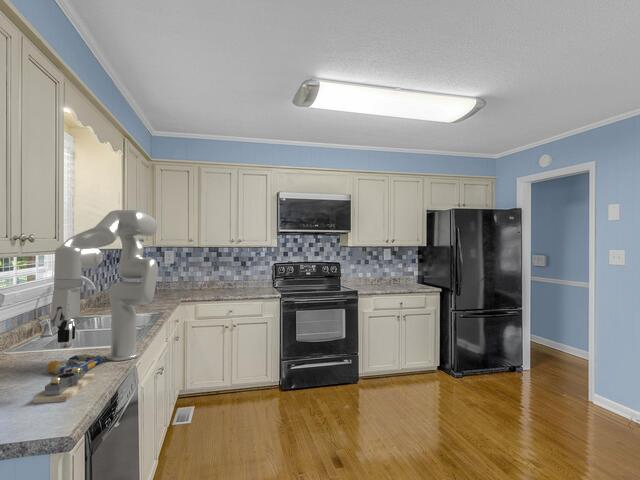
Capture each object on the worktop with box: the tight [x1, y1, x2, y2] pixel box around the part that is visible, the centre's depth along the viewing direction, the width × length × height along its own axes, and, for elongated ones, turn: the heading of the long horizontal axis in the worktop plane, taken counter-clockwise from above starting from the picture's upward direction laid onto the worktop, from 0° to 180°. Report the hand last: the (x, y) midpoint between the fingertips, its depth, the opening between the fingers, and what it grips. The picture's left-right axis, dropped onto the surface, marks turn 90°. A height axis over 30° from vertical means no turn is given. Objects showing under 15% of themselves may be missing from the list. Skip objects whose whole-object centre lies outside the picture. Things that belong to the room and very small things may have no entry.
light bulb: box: [59, 318, 74, 349], centre depth 122 cm, size 4×4×9 cm
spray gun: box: [46, 353, 104, 376], centre depth 142 cm, size 21×4×15 cm
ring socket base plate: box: [33, 367, 95, 404], centre depth 122 cm, size 20×9×6 cm, turn 11°
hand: (66, 340), depth 122 cm, fingers closed on light bulb, 3 cm apart
